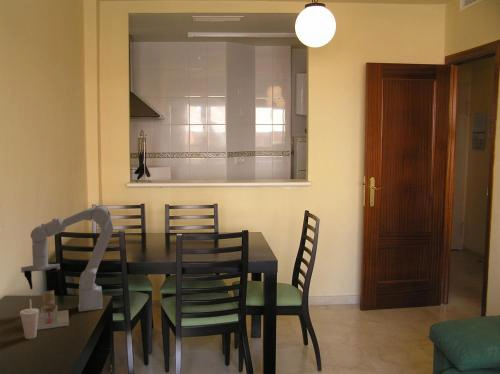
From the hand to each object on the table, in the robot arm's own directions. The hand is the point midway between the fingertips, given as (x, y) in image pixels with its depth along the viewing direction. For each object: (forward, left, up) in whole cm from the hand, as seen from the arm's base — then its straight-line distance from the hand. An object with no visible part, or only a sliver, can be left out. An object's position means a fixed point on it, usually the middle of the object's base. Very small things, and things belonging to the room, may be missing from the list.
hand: (41, 287), depth 191 cm
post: (-3, +13, -6) cm, 15 cm away
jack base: (-3, +13, -10) cm, 17 cm away
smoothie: (+3, +26, -11) cm, 28 cm away
